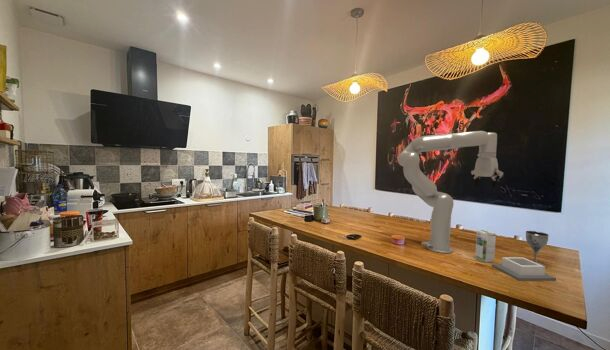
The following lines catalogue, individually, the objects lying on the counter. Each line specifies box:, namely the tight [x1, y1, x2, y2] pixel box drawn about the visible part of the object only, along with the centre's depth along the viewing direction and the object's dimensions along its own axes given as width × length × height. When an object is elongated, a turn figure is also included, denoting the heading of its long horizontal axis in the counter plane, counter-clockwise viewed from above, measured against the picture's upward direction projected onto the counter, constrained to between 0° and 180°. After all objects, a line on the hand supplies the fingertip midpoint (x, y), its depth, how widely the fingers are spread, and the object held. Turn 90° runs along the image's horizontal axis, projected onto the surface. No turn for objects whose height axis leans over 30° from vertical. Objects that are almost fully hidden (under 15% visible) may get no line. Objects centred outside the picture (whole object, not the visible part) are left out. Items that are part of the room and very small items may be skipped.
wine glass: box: [525, 230, 549, 267], centre depth 119 cm, size 8×8×15 cm
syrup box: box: [474, 229, 497, 263], centre depth 122 cm, size 6×6×14 cm
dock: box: [491, 256, 557, 281], centre depth 109 cm, size 16×14×5 cm
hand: (485, 187), depth 134 cm, fingers open, 9 cm apart
